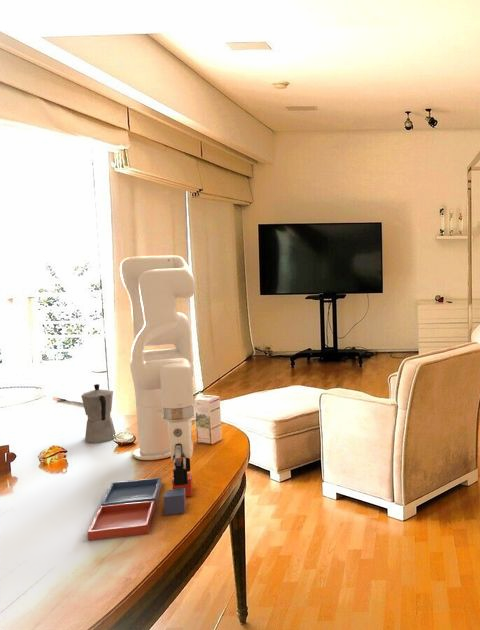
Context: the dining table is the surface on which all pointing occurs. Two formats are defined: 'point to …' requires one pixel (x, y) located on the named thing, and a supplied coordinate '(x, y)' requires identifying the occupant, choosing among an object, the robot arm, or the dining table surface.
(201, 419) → the syrup box
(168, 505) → the blue block
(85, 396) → the coffeepot
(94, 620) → the dining table surface
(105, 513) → the red tray
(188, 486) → the red block
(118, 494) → the blue tray
